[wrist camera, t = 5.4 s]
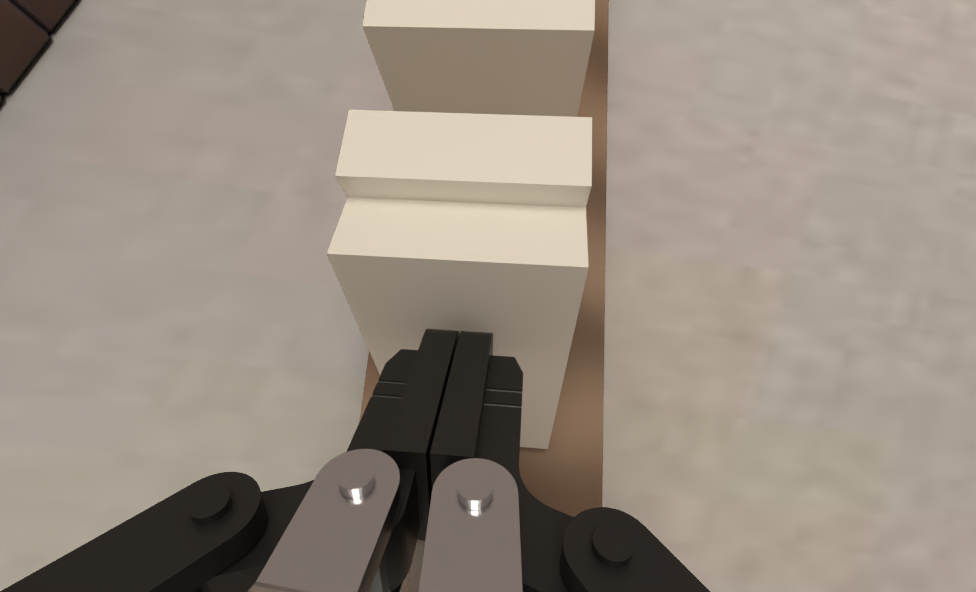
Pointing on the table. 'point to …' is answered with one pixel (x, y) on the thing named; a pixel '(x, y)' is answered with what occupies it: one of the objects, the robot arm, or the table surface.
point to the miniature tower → (25, 34)
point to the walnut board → (575, 334)
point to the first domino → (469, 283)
